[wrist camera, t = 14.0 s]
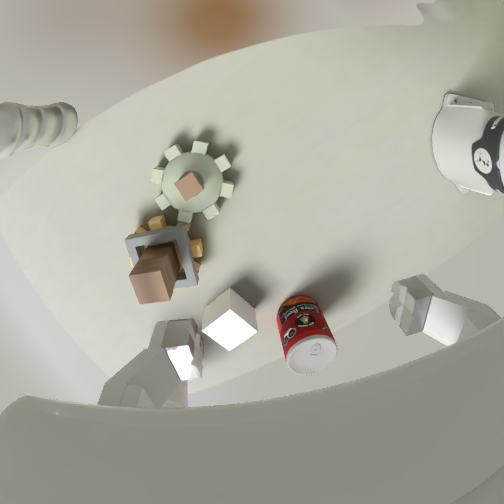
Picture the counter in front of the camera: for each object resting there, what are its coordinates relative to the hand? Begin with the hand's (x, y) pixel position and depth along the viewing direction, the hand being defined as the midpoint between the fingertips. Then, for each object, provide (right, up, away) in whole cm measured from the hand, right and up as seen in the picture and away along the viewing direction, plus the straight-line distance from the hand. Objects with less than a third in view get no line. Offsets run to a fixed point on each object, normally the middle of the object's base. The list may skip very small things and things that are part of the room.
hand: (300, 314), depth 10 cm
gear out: (-15, +3, +30) cm, 33 cm away
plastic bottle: (-30, +22, +20) cm, 42 cm away
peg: (-14, +2, +27) cm, 31 cm away
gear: (-10, +12, +26) cm, 30 cm away
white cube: (-6, -7, +35) cm, 36 cm away
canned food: (+6, -8, +37) cm, 38 cm away
